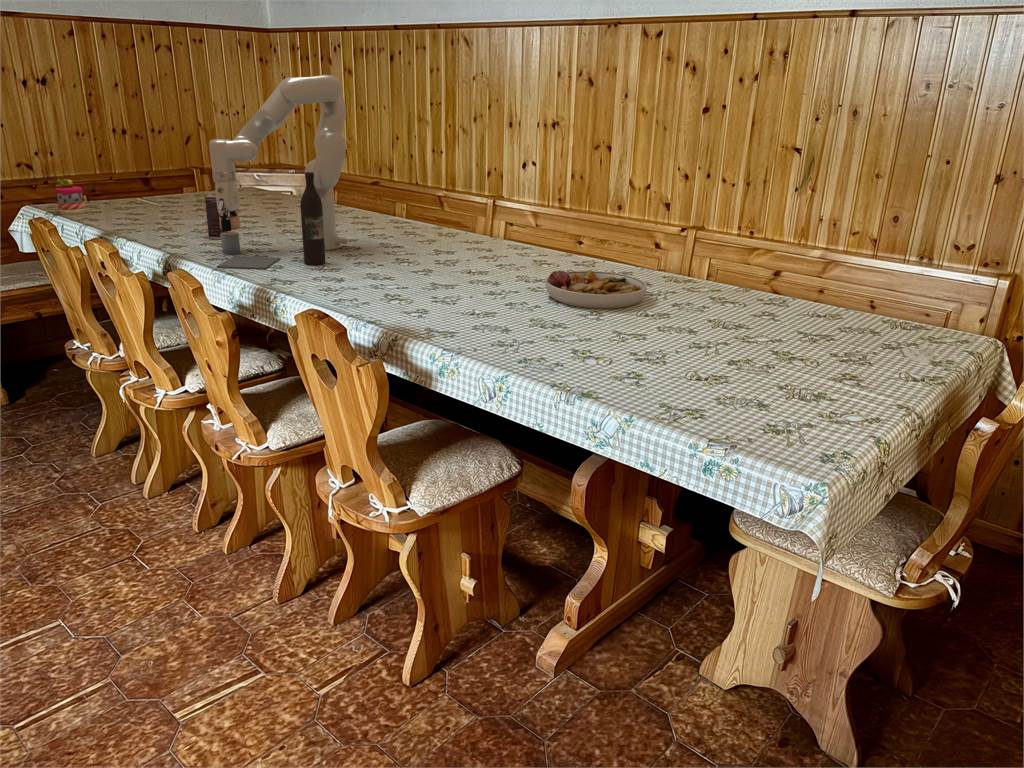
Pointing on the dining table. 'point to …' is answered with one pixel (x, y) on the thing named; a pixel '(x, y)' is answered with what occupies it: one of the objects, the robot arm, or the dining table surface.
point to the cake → (69, 198)
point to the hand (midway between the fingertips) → (230, 228)
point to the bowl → (595, 289)
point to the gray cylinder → (230, 243)
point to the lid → (233, 222)
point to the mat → (249, 262)
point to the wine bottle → (312, 224)
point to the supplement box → (213, 218)
